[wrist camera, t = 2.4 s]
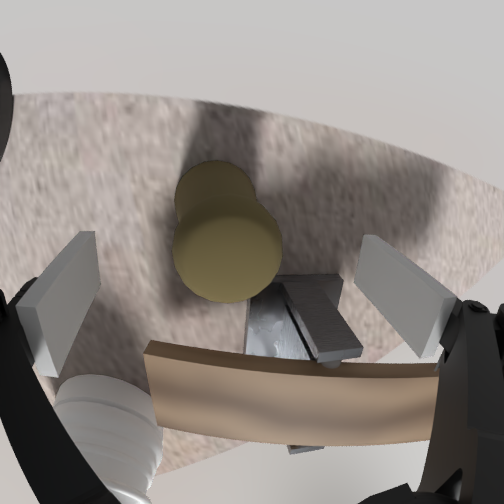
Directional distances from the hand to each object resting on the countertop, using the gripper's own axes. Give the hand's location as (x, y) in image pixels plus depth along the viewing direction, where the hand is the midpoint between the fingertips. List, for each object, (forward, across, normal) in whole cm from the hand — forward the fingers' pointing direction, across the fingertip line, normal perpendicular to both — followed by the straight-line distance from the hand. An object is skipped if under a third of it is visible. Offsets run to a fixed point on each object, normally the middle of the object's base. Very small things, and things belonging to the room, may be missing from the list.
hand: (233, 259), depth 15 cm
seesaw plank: (+1, +7, -12) cm, 14 cm away
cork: (+10, 0, 0) cm, 10 cm away
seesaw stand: (+10, +7, -12) cm, 17 cm away
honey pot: (+10, -12, -24) cm, 28 cm away
